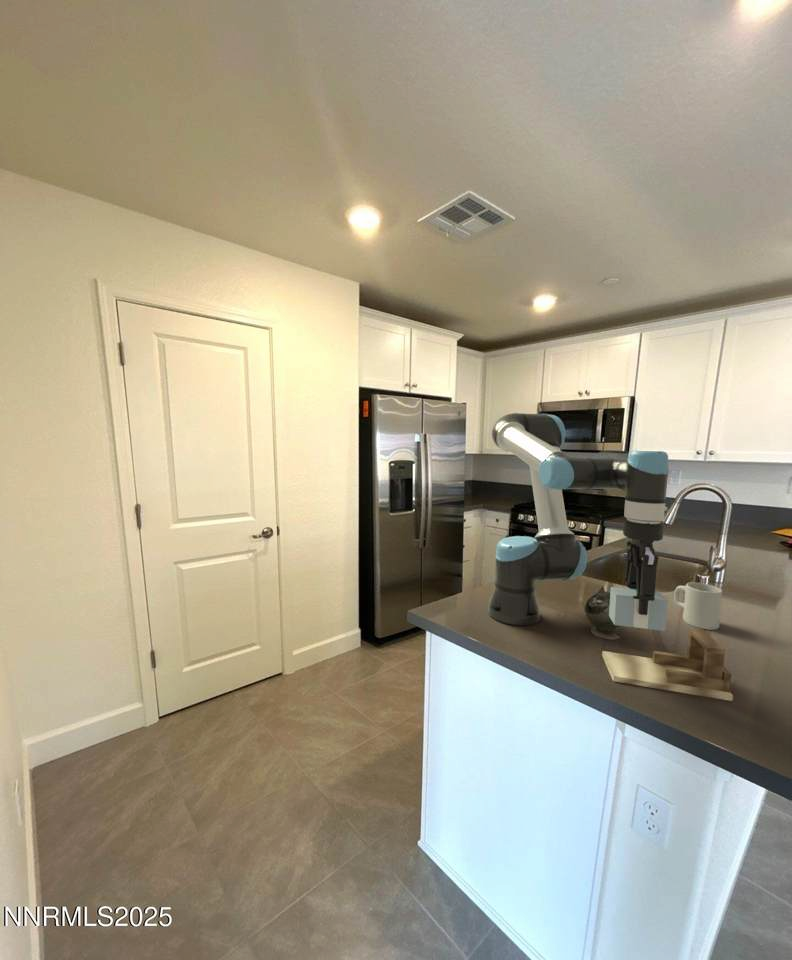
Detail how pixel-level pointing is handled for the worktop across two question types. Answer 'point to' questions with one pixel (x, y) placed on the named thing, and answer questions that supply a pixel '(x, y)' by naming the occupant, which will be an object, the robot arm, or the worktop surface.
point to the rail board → (677, 668)
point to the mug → (700, 605)
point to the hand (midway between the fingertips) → (636, 621)
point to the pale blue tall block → (624, 609)
